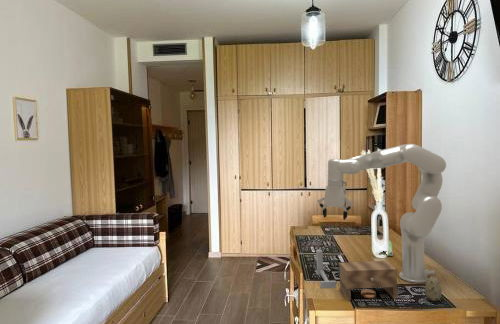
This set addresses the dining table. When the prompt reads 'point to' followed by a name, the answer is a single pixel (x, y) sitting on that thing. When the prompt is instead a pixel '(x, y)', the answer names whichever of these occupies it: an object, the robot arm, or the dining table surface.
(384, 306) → the dining table surface
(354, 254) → the dining table surface
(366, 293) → the copper token
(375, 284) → the wooden bridge block
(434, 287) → the decorative egg
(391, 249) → the frog
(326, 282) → the grey parking meter
